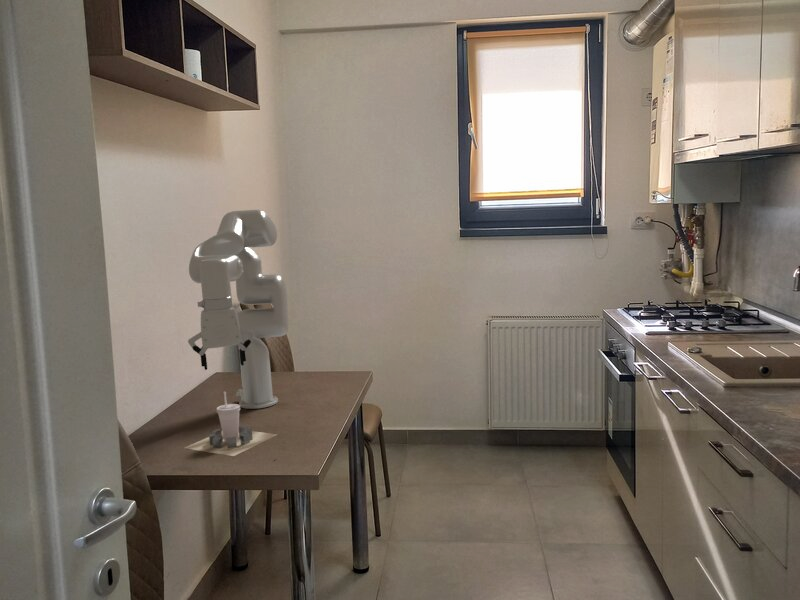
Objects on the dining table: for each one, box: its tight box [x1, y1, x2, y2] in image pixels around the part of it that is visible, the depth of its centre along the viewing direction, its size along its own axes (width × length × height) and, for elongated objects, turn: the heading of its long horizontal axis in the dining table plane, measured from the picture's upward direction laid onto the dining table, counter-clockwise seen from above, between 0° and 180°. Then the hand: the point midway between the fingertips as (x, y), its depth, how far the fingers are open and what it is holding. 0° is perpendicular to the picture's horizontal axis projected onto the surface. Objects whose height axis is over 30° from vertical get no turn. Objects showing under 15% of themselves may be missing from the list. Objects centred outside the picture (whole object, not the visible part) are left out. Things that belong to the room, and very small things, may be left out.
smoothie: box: [216, 391, 241, 443], centre depth 204 cm, size 6×6×14 cm
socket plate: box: [184, 430, 278, 457], centre depth 205 cm, size 18×18×2 cm
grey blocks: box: [208, 425, 253, 448], centre depth 205 cm, size 11×11×2 cm
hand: (224, 366), depth 202 cm, fingers open, 9 cm apart
